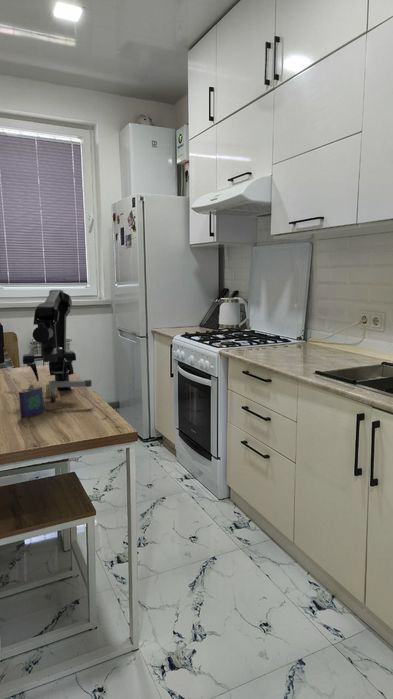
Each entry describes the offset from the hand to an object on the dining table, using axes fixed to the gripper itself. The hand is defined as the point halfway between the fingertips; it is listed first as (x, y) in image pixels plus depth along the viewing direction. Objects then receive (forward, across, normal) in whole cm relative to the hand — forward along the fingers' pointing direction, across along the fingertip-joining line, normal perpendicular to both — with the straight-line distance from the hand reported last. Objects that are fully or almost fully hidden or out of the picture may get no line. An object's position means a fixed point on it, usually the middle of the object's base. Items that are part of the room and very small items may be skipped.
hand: (50, 380), depth 171 cm
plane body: (+8, 0, -3) cm, 8 cm away
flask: (+8, -7, -17) cm, 20 cm away
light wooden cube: (+6, 0, 0) cm, 6 cm away
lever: (+6, +6, -12) cm, 14 cm away
